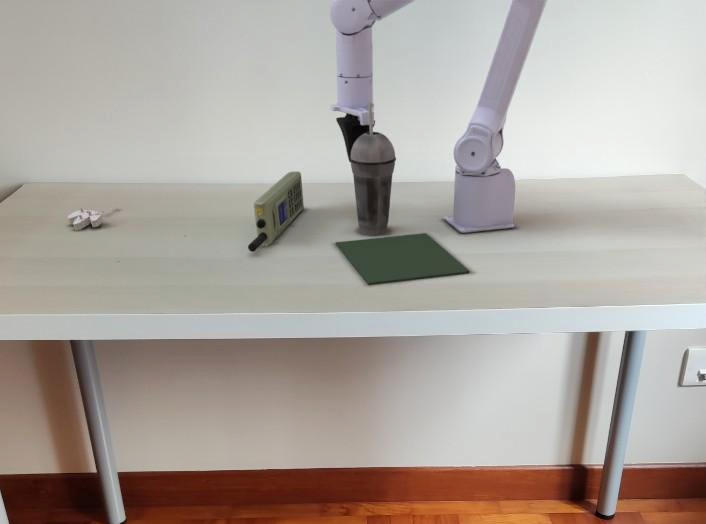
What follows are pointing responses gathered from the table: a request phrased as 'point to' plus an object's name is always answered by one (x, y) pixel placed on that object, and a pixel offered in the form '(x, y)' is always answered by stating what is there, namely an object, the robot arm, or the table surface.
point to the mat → (400, 258)
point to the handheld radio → (277, 209)
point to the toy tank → (85, 218)
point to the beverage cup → (372, 179)
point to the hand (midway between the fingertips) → (356, 162)
